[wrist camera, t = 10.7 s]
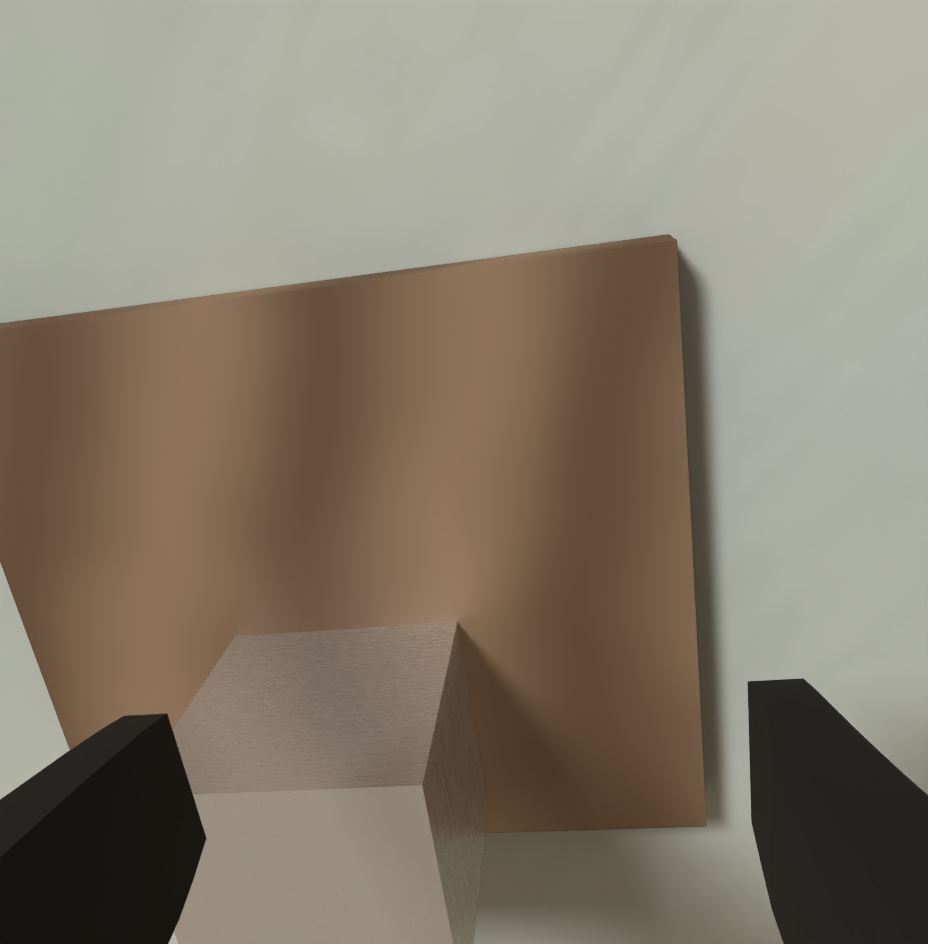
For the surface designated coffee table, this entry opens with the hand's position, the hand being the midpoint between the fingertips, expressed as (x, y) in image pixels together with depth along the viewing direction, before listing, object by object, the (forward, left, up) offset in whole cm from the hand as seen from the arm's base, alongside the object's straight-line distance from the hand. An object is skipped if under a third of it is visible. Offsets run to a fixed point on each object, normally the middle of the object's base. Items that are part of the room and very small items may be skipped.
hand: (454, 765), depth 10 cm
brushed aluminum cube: (+4, +6, -8) cm, 11 cm away
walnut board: (+4, +2, -9) cm, 10 cm away
